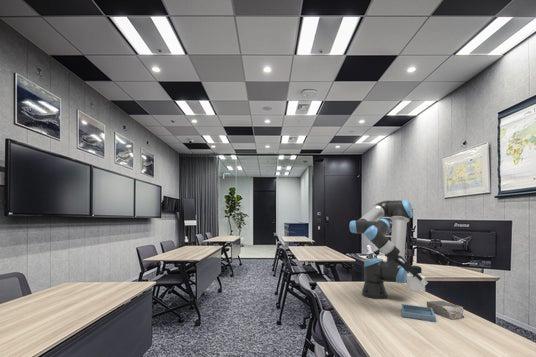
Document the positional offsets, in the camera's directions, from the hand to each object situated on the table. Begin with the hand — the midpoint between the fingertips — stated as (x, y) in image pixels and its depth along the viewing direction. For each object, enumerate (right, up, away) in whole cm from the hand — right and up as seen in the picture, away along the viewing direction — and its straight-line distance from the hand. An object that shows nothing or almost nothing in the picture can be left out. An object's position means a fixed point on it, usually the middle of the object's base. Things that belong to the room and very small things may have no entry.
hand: (422, 282), depth 150 cm
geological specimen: (+13, -18, +1) cm, 22 cm away
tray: (-3, -17, -1) cm, 17 cm away
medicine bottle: (-4, -4, 0) cm, 5 cm away
